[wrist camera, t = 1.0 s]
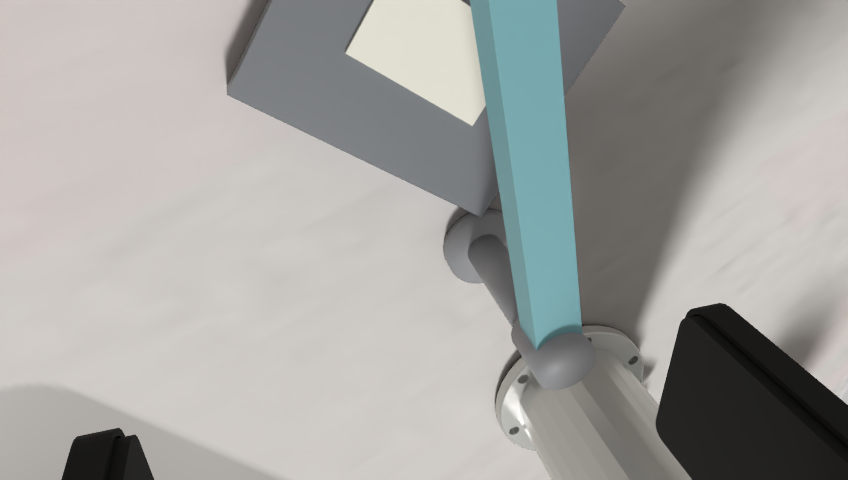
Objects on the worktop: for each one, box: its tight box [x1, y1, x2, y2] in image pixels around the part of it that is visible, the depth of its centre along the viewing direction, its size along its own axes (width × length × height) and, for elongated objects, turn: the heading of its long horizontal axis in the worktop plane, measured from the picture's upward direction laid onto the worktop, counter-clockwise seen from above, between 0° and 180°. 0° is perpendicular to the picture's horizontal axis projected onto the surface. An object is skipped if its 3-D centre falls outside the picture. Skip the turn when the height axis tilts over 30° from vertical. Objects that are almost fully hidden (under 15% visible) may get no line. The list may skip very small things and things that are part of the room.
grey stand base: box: [227, 0, 625, 327], centre depth 29 cm, size 20×18×9 cm
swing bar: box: [470, 0, 596, 390], centre depth 25 cm, size 23×3×3 cm, turn 12°
